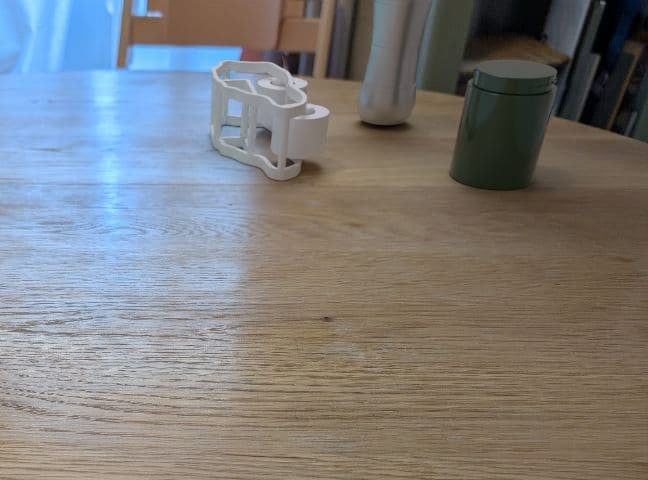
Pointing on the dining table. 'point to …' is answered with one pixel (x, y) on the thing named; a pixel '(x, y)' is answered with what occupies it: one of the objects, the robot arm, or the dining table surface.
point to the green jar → (503, 124)
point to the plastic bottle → (393, 61)
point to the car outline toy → (267, 117)
